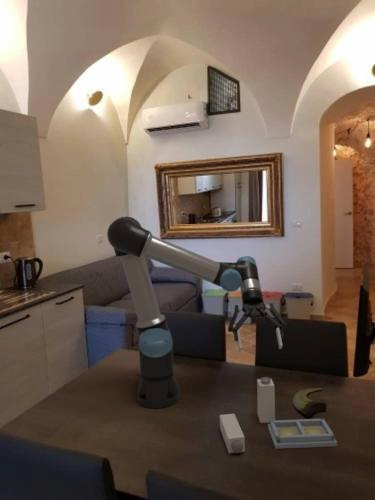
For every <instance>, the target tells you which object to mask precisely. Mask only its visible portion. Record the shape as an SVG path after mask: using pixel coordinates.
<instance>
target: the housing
mask: <svg viewBox="0 0 375 500" xmlns="http://www.w3.org/2000/svg"><path fill="white" fill-rule="evenodd" d="M267 429H268V432H269V434H270V437H271V439H272V443H273V445H274V448H275V450H277V449H300V448H301V449H302V448H304V449H305V448H325V447H326V448H327V447H338V441H337V439H336V437H335V435H334V432H333V431H332V429H331V427H330V426H329V425H328V423H327V421H326V420H325V418H307V419H306V418H304V419H302V418H301V419H282V420H281V419H280V420H279V419H277V420H276V419H275V421H270V423H267Z"/></svg>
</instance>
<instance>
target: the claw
mask: <svg viewBox="0 0 375 500" xmlns="http://www.w3.org/2000/svg"><path fill="white" fill-rule="evenodd" d="M320 390H321V391H322V390H323V388H322V387H316V388H315V387H314V388H306V389H302V390H299V391H298V392H297V393H296V394H294V396H293V398H292V405H293V406H294V407H295V409H296V410H297V411H299V412H301V413H302V414H303V415H304V416H306V417H308V418H310V417H311V416H312V415H313V414H315V413H317V412H320V413H321V412H326V411H327V404H326V403H325V402H324V401H322V400H313V399H310V398H308V397H307V395H308V394H310V393H313V392H317V391H318V392H319V391H320Z"/></svg>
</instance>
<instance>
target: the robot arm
mask: <svg viewBox="0 0 375 500" xmlns="http://www.w3.org/2000/svg"><path fill="white" fill-rule="evenodd" d="M107 228H108V229H107V232H106V233H107V234H106V236H107V240H108V243H109V244H110V246H111V247H113V250H114V254H115V257H116V259H119V260H120V261H121V263H122V267H123V270H124V274H125V277H126V281H127V284H128V288H129V291H130V292H129V293H130V295H131V299H132V302H133V306H134V309H135V313H136V317H137V322H136V324H135V327H136V331H137V336H138V344H137V345H138V352H139V369H140V380H139V384H138V387H137V391H136V401H137V403H138V404H139V405H140V406H143V407H145V408H149V409H161V408H167V407H169V406H172V405H174V404H175V403H177V402H178V400H180V397H181V395H180V394H181V393H180V392H181V391H180V387H179V385H178V383H177V380H176V377H175V374H174V350H173V345H174V343H173V342H174V341H173V338H172V337H173V336H172V333H171V330H170V328H169V325H168V323H167V319H166V316H165V315H164V314H161V312H160V307H159V305H158V302H157V301H158V300H157V297H156V293H155V290H154V286H153V283H152V280H151V276H150V271H149V269H148V265H147V264H148V263H147V261H146V258H148V259H150V260H152V261H156V262H158V263H160V264H164V265H166V266H168V267H170V268H173V269H175V270H178V271H180V272H183V273H185V274H189V275H191V276H193V277H196V278H198V279H201V280H203V281H206V282H208V283H211V284H212V285H216V286H218V287H220V288H222V290H224V291H226V292H235V291H237V290H239V289H240V295H241V302H242V306H240V305H238V304H235V306H234V312H233V314H232V317H231V320H230V321H229V323H228V327H227V331H228V332H229V333H233V334H232V335H233V338H234V341H235V342H237V344H238V345H237V346H238V352H242V350H243V346H242V339H241V332H240V329H241V327H242V326H243V325H244V323H245V321H246V320H247V319H248V318H250V319H253V318H257V319H258V318H262V319H263V320H265V321H267V323H268V324H270V325H271V326H272V327H274V328H275V335H276V340H277V343H278V349H279V350H282V348H283V346H284V345H283V341H282V339H283V338H284V331H283V329H284V330H285V329H286V327H287V326H288V323H287V322H286V321H285V319H284V318H283V317H282V316H281V315H280V313H279V312H278V310H277V309H276V308H275V306H274V304H273V303H272V302H270V303H269V304H265V303H264V297H263V293H262V287H261V282H260V278H259V272H258V271H259V270H258V266H257V262H256V259H255V258H254V257H252V256H251V255H245V256H241V257H238V259H237V260H236V262H227V261H224V262H222V261H215V260H213V259H210V258H208V257H205V256H203V255H200V254H198V253H196V252H194V251H191V250H188V249H186V248H184V247H181V246H179V245H176V244H173V243H171V242H169V241H166V240H164V239H162V238H159V237H157V236H154V235H153V233H152V232H151V230H148V229H145V228H144V227H142V225H141V223H140V222H139V221H138V220H137V219H135V218H134V217H131V216H121V217H119V218H117V219H115V220H114V221H113V222H111V223H110V225H109V226H108V227H107ZM266 310H267V311H269V312H270V314H271V315H272V316H273V317H272V316H271V315H270V314H269V313H268V312H267V311H266ZM241 311H242V312H243V314H242V316H241V317H240V319H239V320H238V321H237V322H236V320H237V318H238V314H239V313H241ZM235 323H236V324H235Z"/></svg>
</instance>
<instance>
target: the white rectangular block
mask: <svg viewBox="0 0 375 500" xmlns="http://www.w3.org/2000/svg"><path fill="white" fill-rule="evenodd" d="M219 429H220V431H221V435H222V438H223V441H224V443H225V446H226V449H227V452H228V454H235V453H236V454H239V453H244V452H245V451H246V444H245V443H246V442H245V441H246V439H245V438H246V437H245V434H244V432H243V431H242V428H241V427H240V424H239V420H238V419H237V416H236V415H235V413H228V414H226V413H225V414H219Z"/></svg>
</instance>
